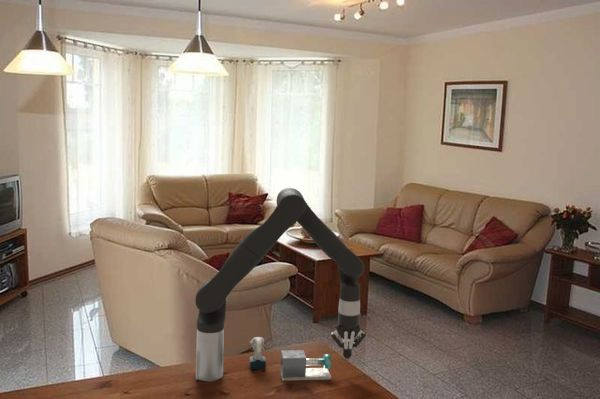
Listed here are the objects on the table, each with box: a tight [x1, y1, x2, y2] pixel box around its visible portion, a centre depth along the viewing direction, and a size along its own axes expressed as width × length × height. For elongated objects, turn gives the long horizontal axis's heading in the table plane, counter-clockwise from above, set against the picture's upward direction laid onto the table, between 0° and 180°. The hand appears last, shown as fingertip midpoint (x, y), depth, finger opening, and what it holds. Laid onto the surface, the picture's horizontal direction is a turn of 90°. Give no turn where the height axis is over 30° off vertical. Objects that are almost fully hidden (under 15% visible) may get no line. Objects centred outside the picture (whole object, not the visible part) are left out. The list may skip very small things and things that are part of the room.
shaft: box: [306, 353, 332, 370], centre depth 195 cm, size 14×5×5 cm, turn 98°
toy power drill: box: [249, 336, 267, 371], centre depth 199 cm, size 6×8×11 cm
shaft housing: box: [280, 349, 332, 382], centre depth 194 cm, size 17×7×8 cm, turn 98°
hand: (346, 357), depth 196 cm, fingers closed
